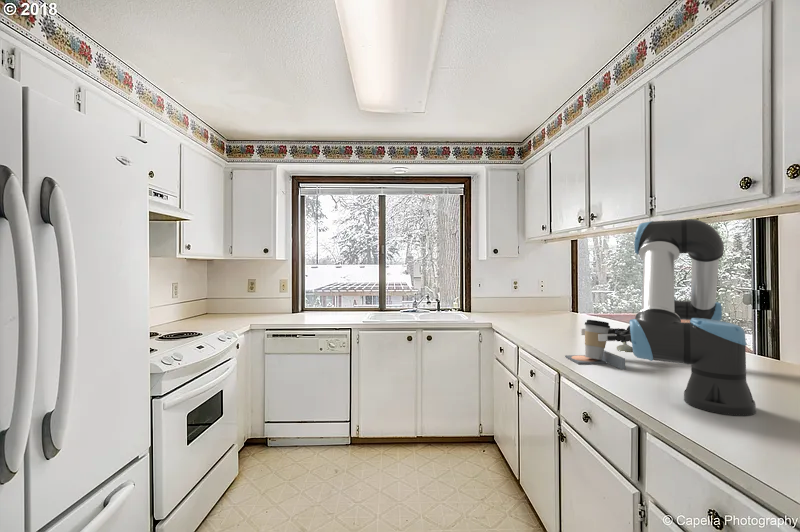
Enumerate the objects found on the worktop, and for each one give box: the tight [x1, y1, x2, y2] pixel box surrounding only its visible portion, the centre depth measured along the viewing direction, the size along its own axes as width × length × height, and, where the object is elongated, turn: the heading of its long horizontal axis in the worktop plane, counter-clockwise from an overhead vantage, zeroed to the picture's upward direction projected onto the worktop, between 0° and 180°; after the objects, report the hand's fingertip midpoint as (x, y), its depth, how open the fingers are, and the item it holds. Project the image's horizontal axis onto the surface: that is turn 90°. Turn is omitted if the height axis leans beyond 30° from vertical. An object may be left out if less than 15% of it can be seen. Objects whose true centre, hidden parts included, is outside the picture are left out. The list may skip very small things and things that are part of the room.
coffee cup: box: [584, 319, 611, 360], centre depth 155 cm, size 9×9×15 cm
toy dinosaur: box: [616, 342, 633, 353], centre depth 182 cm, size 22×3×7 cm
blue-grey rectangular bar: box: [602, 349, 626, 370], centre depth 153 cm, size 20×2×4 cm, turn 1°
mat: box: [564, 354, 607, 365], centre depth 157 cm, size 12×11×1 cm
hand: (589, 334), depth 158 cm, fingers open, 13 cm apart
